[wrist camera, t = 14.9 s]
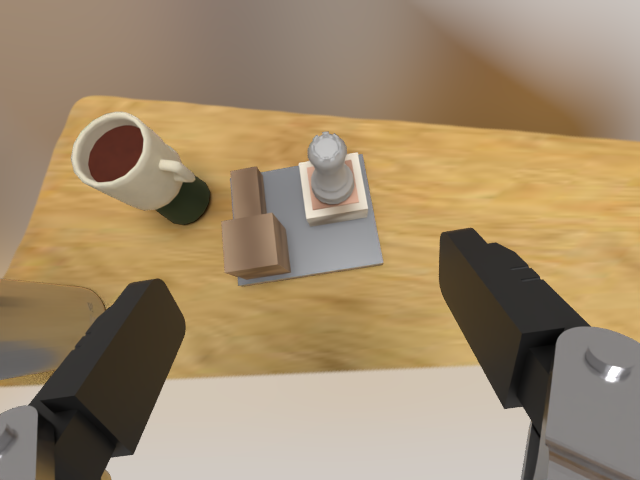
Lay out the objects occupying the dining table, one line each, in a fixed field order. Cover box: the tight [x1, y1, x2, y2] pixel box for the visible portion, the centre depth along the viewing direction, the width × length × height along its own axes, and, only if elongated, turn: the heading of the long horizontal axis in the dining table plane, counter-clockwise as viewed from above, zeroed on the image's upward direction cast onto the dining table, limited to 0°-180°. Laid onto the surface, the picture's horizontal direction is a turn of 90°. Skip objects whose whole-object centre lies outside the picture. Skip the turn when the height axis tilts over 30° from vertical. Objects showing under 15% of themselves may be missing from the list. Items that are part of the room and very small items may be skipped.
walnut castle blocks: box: [221, 167, 291, 280], centre depth 33 cm, size 5×12×6 cm, turn 8°
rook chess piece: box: [308, 132, 354, 204], centre depth 29 cm, size 4×4×8 cm
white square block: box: [299, 152, 368, 227], centre depth 34 cm, size 6×6×3 cm
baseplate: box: [230, 154, 383, 286], centre depth 36 cm, size 16×13×1 cm
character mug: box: [71, 112, 210, 225], centre depth 33 cm, size 11×7×13 cm, turn 80°
